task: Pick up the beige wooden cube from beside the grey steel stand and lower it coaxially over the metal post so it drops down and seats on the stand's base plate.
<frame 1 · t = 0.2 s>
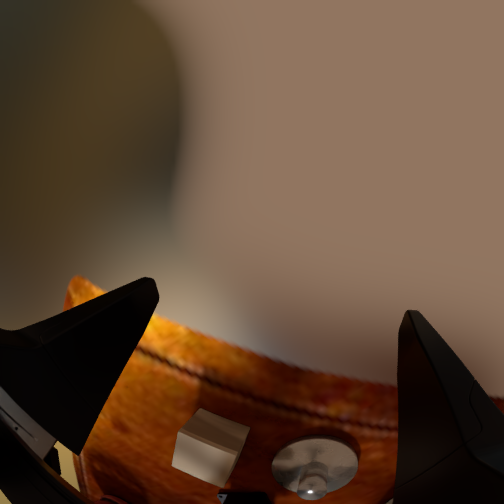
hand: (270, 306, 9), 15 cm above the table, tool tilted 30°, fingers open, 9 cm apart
post stand: (315, 464, 22), on the table
beige wooden cube: (219, 436, 24), on the table
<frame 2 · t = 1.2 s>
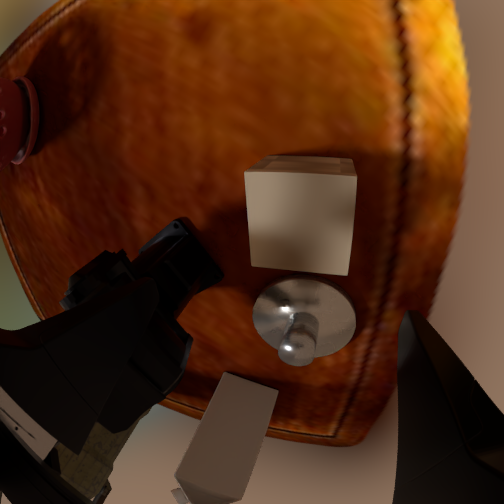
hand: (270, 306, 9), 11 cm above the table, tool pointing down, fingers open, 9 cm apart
plant pot: (26, 114, 22), on the table
post stand: (304, 316, 24), on the table
milk carton: (247, 391, 33), on the table
beige wooden cube: (309, 196, 18), on the table
thermos: (143, 368, 39), on the table
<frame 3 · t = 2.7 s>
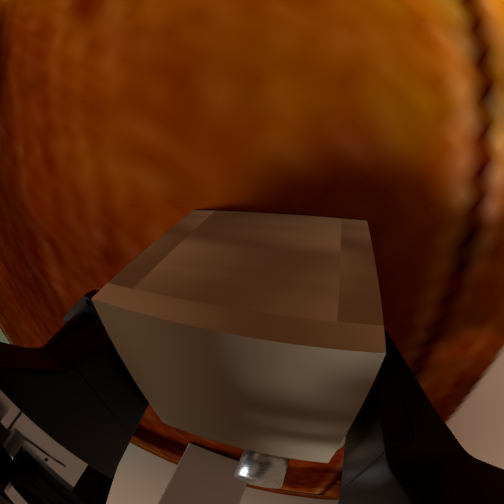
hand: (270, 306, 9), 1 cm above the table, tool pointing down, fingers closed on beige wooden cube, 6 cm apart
post stand: (277, 421, 15), on the table
milk carton: (219, 458, 24), on the table
beige wooden cube: (276, 287, 10), on the table, touching gripper
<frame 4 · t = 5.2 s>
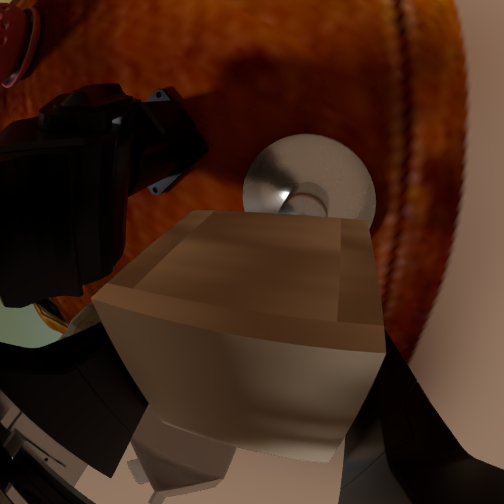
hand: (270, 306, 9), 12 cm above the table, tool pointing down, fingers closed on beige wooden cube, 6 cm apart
plant pot: (26, 43, 17), on the table
post stand: (309, 198, 19), on the table
milk carton: (238, 337, 28), on the table
beige wooden cube: (276, 287, 10), point 11 cm above the table, touching gripper
thermos: (119, 319, 34), on the table
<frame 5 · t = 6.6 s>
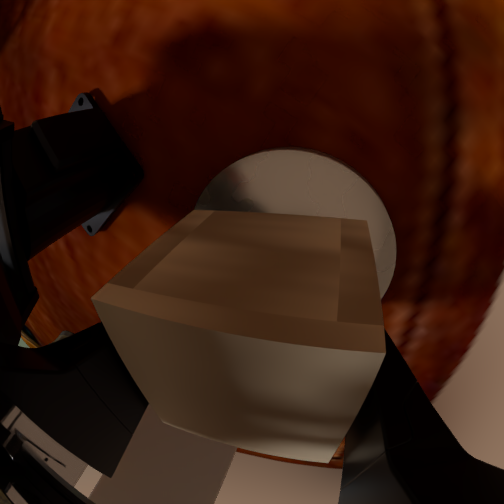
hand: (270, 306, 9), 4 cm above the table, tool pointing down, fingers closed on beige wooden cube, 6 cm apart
post stand: (292, 248, 12), on the table
milk carton: (211, 394, 22), on the table
beige wooden cube: (276, 287, 10), point 3 cm above the table, touching gripper
when the fingers open (4 cm above the table, at t = 7.6 s): beige wooden cube drops 2 cm, resting on post stand.
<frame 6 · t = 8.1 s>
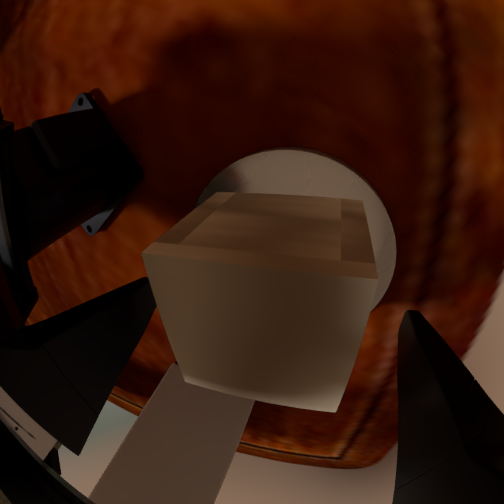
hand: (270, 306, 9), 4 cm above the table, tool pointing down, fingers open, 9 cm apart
post stand: (291, 249, 12), on the table
milk carton: (211, 394, 22), on the table
beige wooden cube: (286, 259, 11), point 1 cm above the table, touching post stand
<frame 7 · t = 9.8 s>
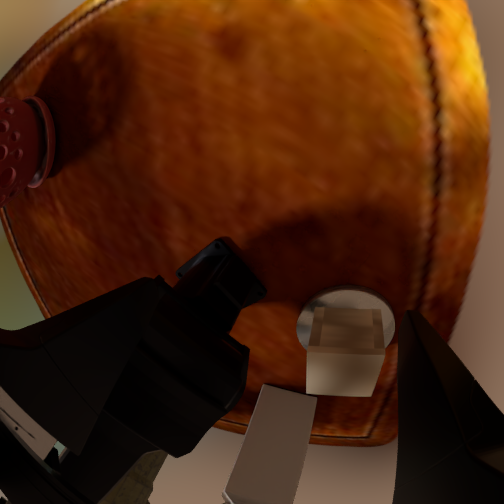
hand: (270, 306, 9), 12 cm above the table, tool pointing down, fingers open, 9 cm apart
plant pot: (39, 135, 24), on the table
post stand: (346, 324, 24), on the table
milk carton: (285, 400, 33), on the table
beige wooden cube: (345, 332, 23), point 1 cm above the table, touching post stand
thermos: (176, 386, 39), on the table
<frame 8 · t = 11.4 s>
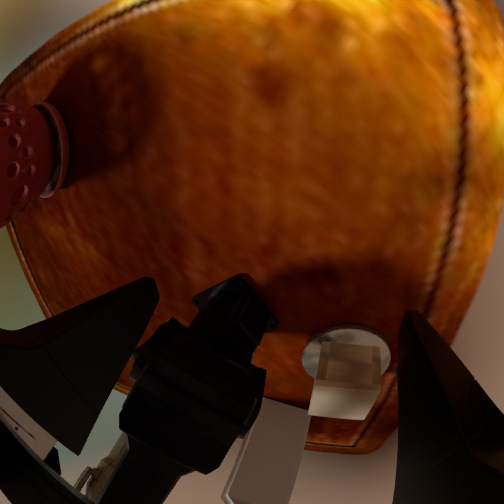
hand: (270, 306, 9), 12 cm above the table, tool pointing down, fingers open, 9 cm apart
plant pot: (50, 142, 24), on the table
post stand: (346, 355, 25), on the table
milk carton: (281, 411, 35), on the table
beige wooden cube: (346, 362, 24), point 1 cm above the table, touching post stand
thermos: (176, 391, 41), on the table
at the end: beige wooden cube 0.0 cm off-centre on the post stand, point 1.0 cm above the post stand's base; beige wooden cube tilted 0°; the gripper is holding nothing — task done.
